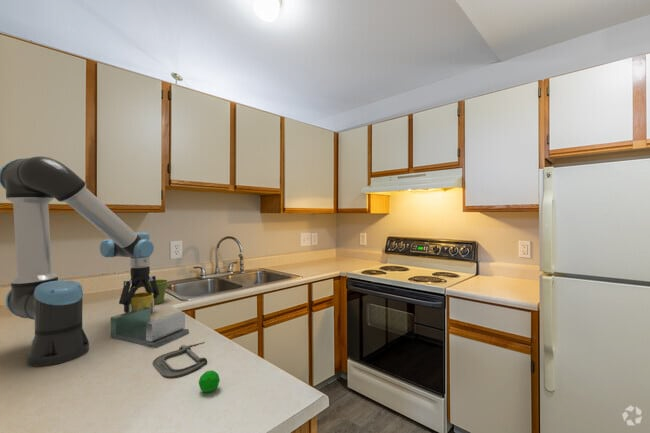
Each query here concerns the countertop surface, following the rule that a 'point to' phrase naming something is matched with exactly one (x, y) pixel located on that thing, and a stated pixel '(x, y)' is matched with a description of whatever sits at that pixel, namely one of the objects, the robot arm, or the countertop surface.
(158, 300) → the plant pot
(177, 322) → the steel jaw
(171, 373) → the c clamp
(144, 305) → the plant pot
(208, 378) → the polyhedron
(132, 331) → the vise base
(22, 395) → the countertop surface
